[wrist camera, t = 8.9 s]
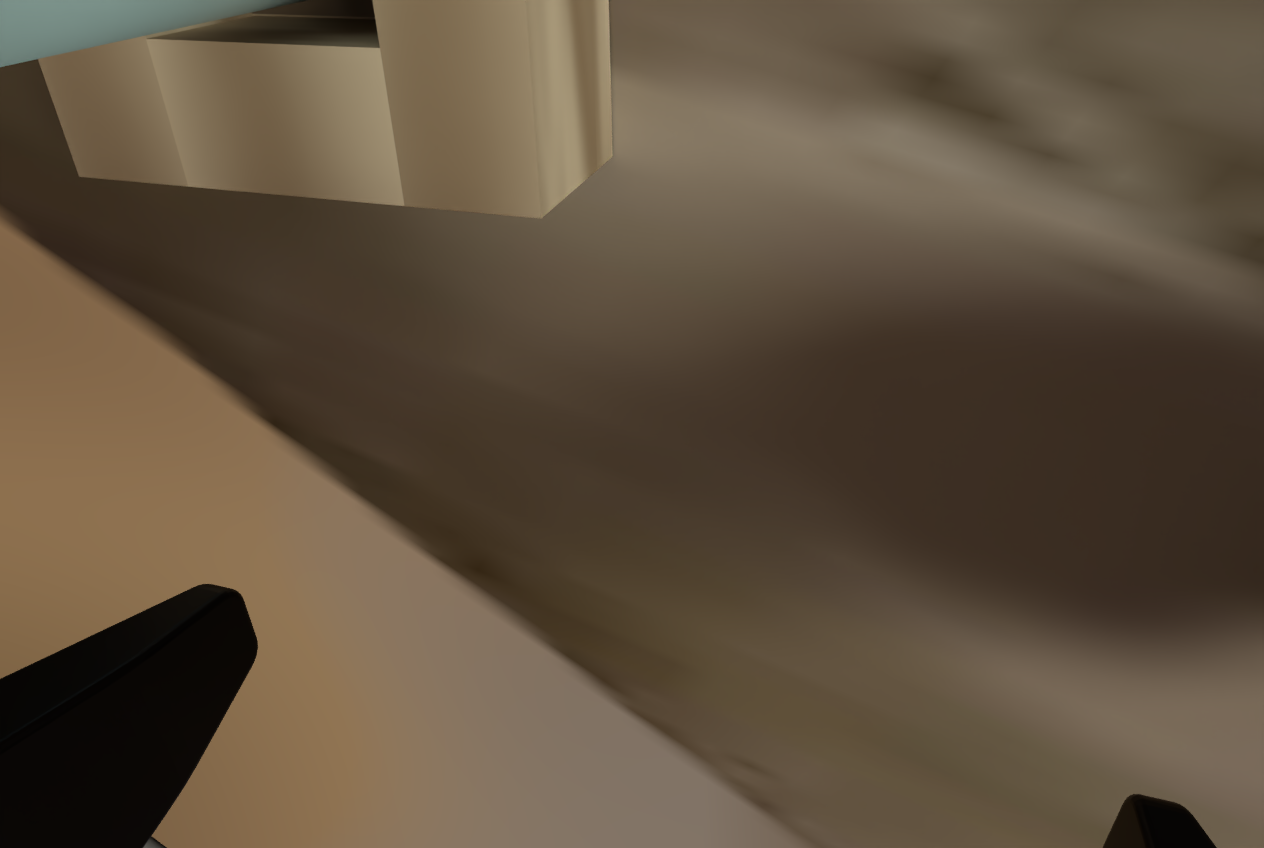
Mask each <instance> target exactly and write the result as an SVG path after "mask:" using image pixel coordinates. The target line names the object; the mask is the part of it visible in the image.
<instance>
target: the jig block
mask: <svg viewBox="0 0 1264 848" xmlns="http://www.w3.org/2000/svg"><path fill="white" fill-rule="evenodd" d="M38 61H39V64H40V67H41V70H42V72H43V75H44V78H45V81H46V84H47V87H48V89H49V92H50V95H51V98H52V101H53V104H54V106H55V109H56V112H57V115H58V118H59V121H60V124H61V126H62V129H63V132H64V135H65V138H66V141H67V143H68V146H69V149H70V152H71V155H72V158H73V160H74V163H75V166H76V169H77V172H78V175H79V177H88V178H99V179H110V180H121V181H132V182H143V183H154V184H165V185H176V186H187V187H198V188H209V189H220V190H231V191H243V192H254V193H265V194H276V195H287V196H298V197H309V198H320V199H331V200H342V201H353V202H364V203H375V204H386V205H397V206H408V207H419V208H431V209H442V210H453V211H464V212H475V213H486V214H497V215H508V216H519V217H530V218H543V217H544V216H545V215H546V214H547V213H548V212H549V211H551V210H552V209H553V208H554V207H555V206H556V205H558V204H559V203H560V202H561V201H562V200H563V199H564V198H566V197H567V196H568V195H569V194H570V193H571V192H572V191H574V190H575V189H576V188H577V187H578V186H579V185H581V184H582V183H583V182H584V181H585V180H586V179H587V178H589V177H590V176H591V175H592V174H593V173H594V172H595V171H597V170H598V169H599V168H600V167H601V166H602V165H604V164H605V163H606V162H607V161H608V160H609V159H610V158H612V157H613V150H612V111H611V72H610V32H609V0H306V1H302V2H297V3H293V4H288V5H283V6H279V7H274V8H270V9H265V10H260V11H256V12H251V13H247V14H242V15H238V16H233V17H228V18H224V19H219V20H215V21H210V22H205V23H201V24H196V25H192V26H187V27H182V28H178V29H173V30H169V31H164V32H159V33H155V34H150V35H146V36H141V37H137V38H132V39H127V40H123V41H118V42H114V43H109V44H104V45H100V46H95V47H91V48H86V49H81V50H77V51H72V52H68V53H63V54H58V55H54V56H49V57H45V58H40V59H38Z"/></svg>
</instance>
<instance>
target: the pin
mask: <svg viewBox="0 0 1264 848" xmlns="http://www.w3.org/2000/svg"><path fill="white" fill-rule="evenodd" d="M302 1H306V0H0V67H3V66H8V65H13V64H17V63H22V62H26V61H31V60H36V59H40V58H45V57H49V56H54V55H58V54H63V53H68V52H72V51H77V50H81V49H86V48H91V47H95V46H100V45H104V44H109V43H114V42H118V41H123V40H127V39H132V38H137V37H141V36H146V35H150V34H155V33H159V32H164V31H169V30H173V29H178V28H182V27H187V26H192V25H196V24H201V23H205V22H210V21H215V20H219V19H224V18H228V17H233V16H238V15H242V14H247V13H251V12H256V11H260V10H265V9H270V8H274V7H279V6H283V5H288V4H293V3H297V2H302Z"/></svg>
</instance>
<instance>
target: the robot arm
mask: <svg viewBox="0 0 1264 848" xmlns="http://www.w3.org/2000/svg"><path fill="white" fill-rule="evenodd" d="M257 649H258V643H257V638H256V635H255V632H254V629H253V626H252V623H251V620H250V617H249V614H248V611H247V608H246V605H245V602H244V600H243V597H242V596H241V594H240V593H239V592H237V591H236V590H234V589H230V588H226V587H221V586H217V585H212V584H202V585H198V586H196V587H193V588H191V589H189V590H187V591H185V592H183V593H181V594H178V595H176V596H174V597H173V598H170V599H168V600H166V601H164V602H162V603H160V604H158V605H155V606H153V607H151V608H149V609H147V610H145V611H143V612H141V613H139V614H136V615H134V616H132V617H130V618H128V619H126V620H124V621H122V622H119V623H117V624H115V625H113V626H111V627H109V628H107V629H105V630H103V631H100V632H98V633H96V634H94V635H92V636H90V637H88V638H86V639H84V640H81V641H79V642H77V643H75V644H73V645H71V646H69V647H67V648H65V649H62V650H60V651H58V652H56V653H54V654H52V655H50V656H48V657H46V658H44V659H41V660H39V661H37V662H35V663H33V664H31V665H29V666H27V667H24V668H23V669H20V670H18V671H16V672H14V673H12V674H10V675H8V676H5V677H3V678H1V679H0V848H143V847H144V846H145V845H146V843H147V842H148V840H149V839H150V837H151V836H152V834H153V833H154V831H155V830H156V828H157V827H158V825H159V824H160V823H161V821H162V820H163V818H164V817H165V815H166V814H167V812H168V811H169V809H170V808H171V806H172V805H173V803H174V802H175V800H176V799H177V797H178V796H179V794H180V793H181V791H182V789H183V788H184V786H185V785H186V783H187V781H188V780H189V778H190V776H191V775H192V773H193V771H194V769H195V768H196V766H197V764H198V763H199V761H200V759H201V757H202V755H203V754H204V752H205V750H206V748H207V746H208V744H209V743H210V741H211V739H212V737H213V736H214V734H215V732H216V730H217V728H218V727H219V725H220V723H221V721H222V719H223V718H224V716H225V714H226V712H227V710H228V709H229V707H230V705H231V703H232V701H233V700H234V698H235V696H236V694H237V692H238V690H239V689H240V687H241V685H242V683H243V681H244V680H245V678H246V676H247V674H248V673H249V671H250V669H251V667H252V665H253V663H254V661H255V658H256V655H257ZM1103 848H1216V846H1215V845H1214V843H1213V842H1212V841H1211V839H1210V838H1209V837H1208V835H1207V834H1206V833H1205V831H1204V830H1203V829H1202V827H1201V826H1200V825H1199V823H1198V822H1197V820H1196V819H1195V818H1194V816H1193V815H1192V814H1191V813H1190V812H1189V811H1188V810H1187V809H1186V808H1185V807H1183V806H1182V805H1180V804H1178V803H1175V802H1171V801H1167V800H1162V799H1158V798H1154V797H1149V796H1145V795H1140V794H1133V795H1130V796H1129V797H1127V798H1126V800H1125V801H1124V803H1123V805H1122V807H1121V809H1120V811H1119V813H1118V816H1117V818H1116V820H1115V822H1114V824H1113V826H1112V829H1111V831H1110V833H1109V835H1108V837H1107V839H1106V841H1105V844H1104V846H1103Z"/></svg>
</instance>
